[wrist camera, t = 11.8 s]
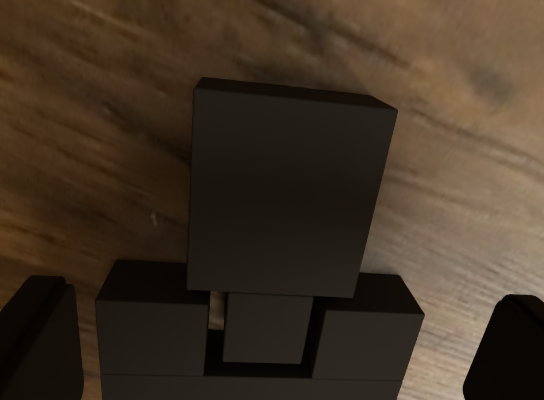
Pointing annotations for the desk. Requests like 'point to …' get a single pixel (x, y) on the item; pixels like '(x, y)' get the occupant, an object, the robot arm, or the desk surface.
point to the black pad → (280, 205)
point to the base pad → (247, 375)
